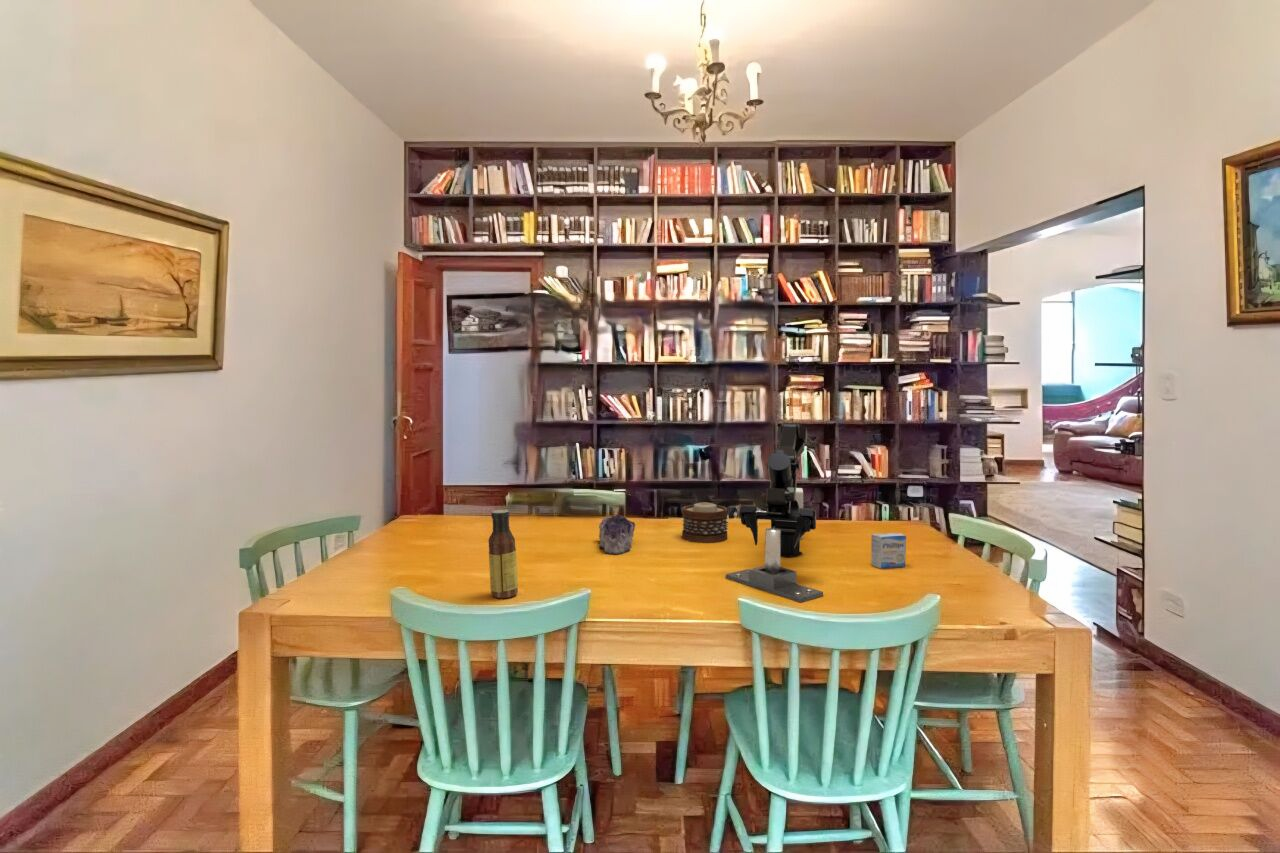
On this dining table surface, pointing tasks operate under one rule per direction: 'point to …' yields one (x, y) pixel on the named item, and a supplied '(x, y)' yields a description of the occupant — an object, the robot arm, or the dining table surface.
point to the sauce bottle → (502, 557)
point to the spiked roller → (704, 523)
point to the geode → (616, 535)
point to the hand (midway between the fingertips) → (774, 545)
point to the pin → (772, 550)
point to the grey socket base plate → (775, 583)
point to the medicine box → (888, 550)
